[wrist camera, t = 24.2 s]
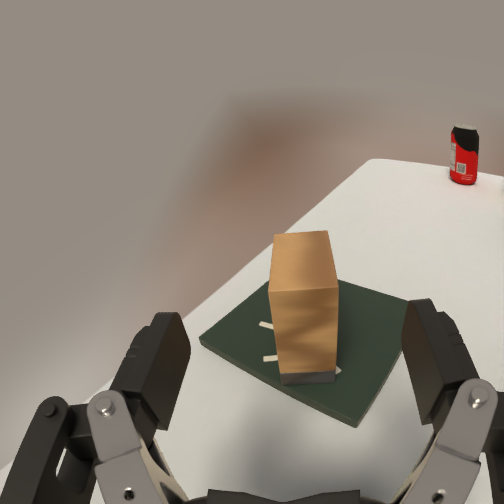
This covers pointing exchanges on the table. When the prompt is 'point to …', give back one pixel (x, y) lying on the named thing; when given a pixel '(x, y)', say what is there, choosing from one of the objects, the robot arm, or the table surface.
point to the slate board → (348, 348)
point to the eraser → (304, 307)
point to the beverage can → (464, 154)
